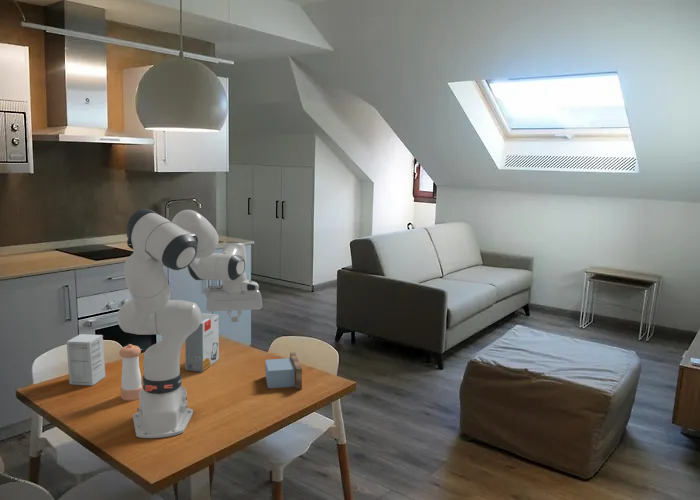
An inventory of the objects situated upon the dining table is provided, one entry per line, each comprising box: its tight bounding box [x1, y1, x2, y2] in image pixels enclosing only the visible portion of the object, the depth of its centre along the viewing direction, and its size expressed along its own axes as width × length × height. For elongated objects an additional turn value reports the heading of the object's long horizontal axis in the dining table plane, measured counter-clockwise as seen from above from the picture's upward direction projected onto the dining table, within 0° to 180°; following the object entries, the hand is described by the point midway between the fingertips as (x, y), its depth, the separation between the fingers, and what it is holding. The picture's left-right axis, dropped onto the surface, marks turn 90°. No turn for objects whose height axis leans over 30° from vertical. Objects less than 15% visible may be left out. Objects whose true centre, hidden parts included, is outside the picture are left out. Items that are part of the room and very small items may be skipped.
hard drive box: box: [184, 312, 220, 373], centre depth 230 cm, size 16×8×20 cm, turn 168°
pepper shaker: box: [119, 343, 143, 401], centre depth 198 cm, size 7×7×19 cm
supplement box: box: [66, 333, 106, 387], centre depth 211 cm, size 10×9×17 cm
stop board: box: [289, 351, 303, 390], centre depth 217 cm, size 18×2×8 cm, turn 14°
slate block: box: [264, 357, 296, 389], centre depth 216 cm, size 12×10×7 cm
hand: (234, 321), depth 208 cm, fingers closed
